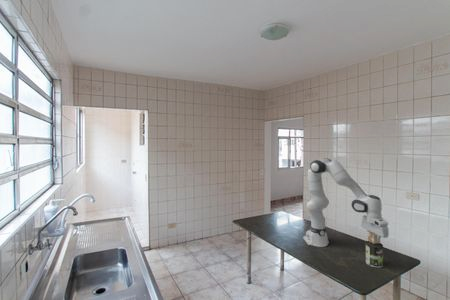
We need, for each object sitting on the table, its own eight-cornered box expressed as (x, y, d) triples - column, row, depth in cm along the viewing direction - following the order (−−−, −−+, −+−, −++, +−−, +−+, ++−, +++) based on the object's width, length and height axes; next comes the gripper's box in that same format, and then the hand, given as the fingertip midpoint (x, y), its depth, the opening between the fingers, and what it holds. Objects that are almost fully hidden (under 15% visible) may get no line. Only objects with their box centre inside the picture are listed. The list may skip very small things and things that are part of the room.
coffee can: (386, 265, 162) (386, 245, 161) (376, 269, 158) (376, 248, 157) (372, 258, 171) (371, 239, 171) (362, 262, 167) (362, 242, 167)
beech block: (368, 240, 166) (368, 232, 166) (374, 239, 167) (374, 231, 167) (373, 243, 161) (373, 235, 161) (380, 242, 162) (380, 234, 162)
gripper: (358, 214, 173) (359, 233, 174) (382, 224, 153) (382, 245, 153) (366, 214, 174) (366, 232, 175) (390, 223, 154) (390, 244, 154)
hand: (374, 238), depth 164 cm, fingers closed on beech block, 5 cm apart
